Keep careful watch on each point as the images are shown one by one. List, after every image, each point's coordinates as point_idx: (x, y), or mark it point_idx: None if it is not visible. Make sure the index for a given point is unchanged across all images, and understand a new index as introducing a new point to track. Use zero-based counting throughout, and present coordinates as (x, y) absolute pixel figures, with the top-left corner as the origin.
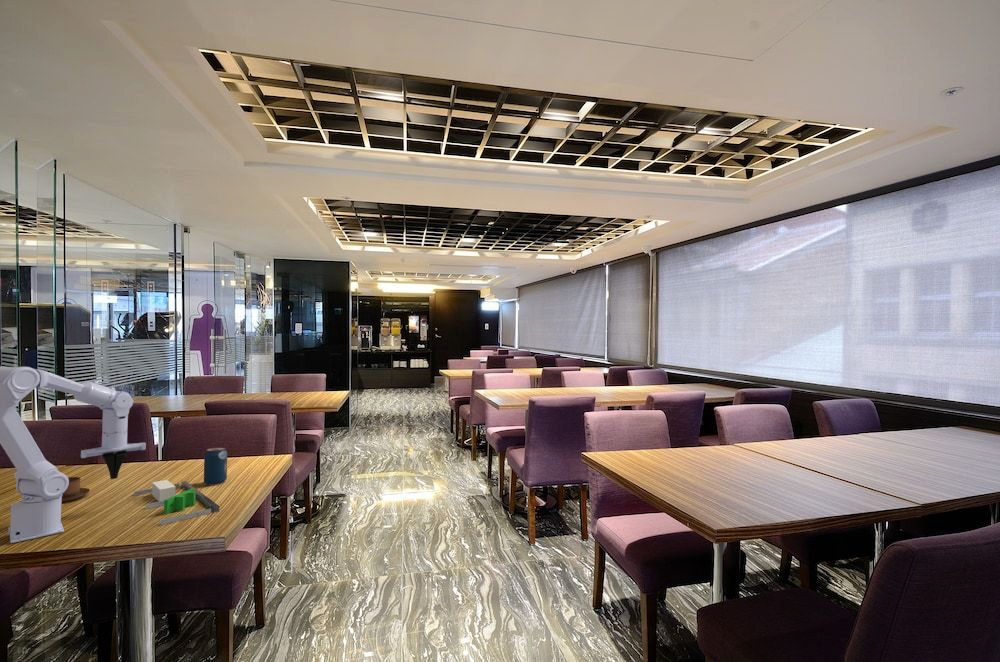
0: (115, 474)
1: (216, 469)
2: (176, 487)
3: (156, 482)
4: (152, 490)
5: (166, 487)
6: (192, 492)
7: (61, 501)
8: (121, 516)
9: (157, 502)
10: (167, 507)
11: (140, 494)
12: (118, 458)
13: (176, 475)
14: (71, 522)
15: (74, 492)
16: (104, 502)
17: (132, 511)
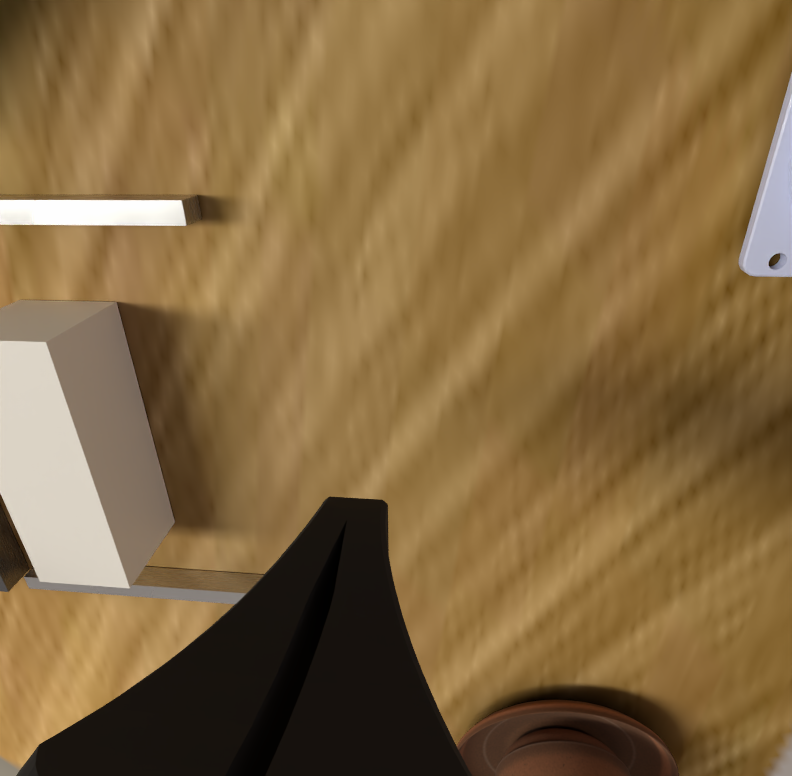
0: (333, 527)
1: None
2: None
3: (101, 567)
4: (155, 534)
5: (3, 370)
6: None
7: (590, 703)
8: (366, 129)
9: (103, 207)
10: None
11: (234, 573)
12: (198, 746)
13: None
14: (667, 273)
15: (528, 755)
16: (414, 569)
17: (287, 217)
